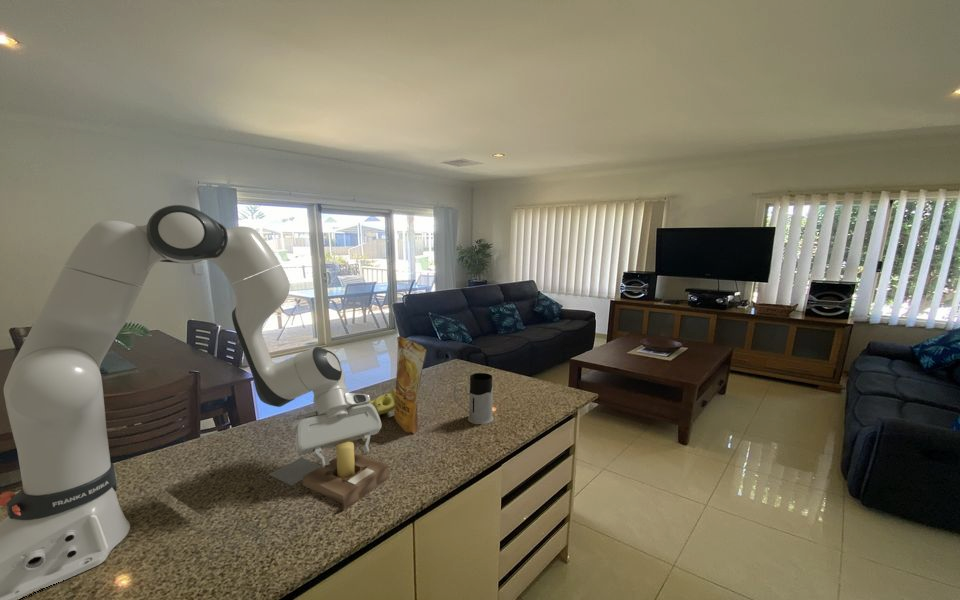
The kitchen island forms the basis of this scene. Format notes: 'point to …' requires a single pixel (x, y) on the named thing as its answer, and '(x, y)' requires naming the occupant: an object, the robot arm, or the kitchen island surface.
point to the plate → (294, 471)
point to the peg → (345, 460)
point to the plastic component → (384, 402)
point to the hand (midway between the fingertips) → (346, 460)
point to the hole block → (347, 480)
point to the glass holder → (479, 398)
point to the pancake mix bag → (408, 383)
